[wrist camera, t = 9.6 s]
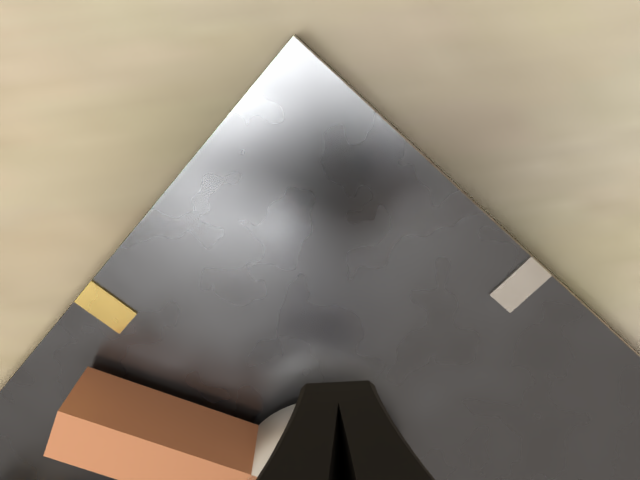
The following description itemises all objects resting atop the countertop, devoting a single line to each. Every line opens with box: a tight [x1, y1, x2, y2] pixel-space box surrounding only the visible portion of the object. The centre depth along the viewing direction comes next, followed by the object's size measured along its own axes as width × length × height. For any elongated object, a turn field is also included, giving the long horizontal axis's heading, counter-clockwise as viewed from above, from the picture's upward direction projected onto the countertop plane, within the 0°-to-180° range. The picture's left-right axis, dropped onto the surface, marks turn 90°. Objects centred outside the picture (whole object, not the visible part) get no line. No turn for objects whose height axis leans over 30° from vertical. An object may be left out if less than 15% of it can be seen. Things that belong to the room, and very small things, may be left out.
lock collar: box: [43, 367, 296, 480], centre depth 20 cm, size 12×6×2 cm, turn 67°
